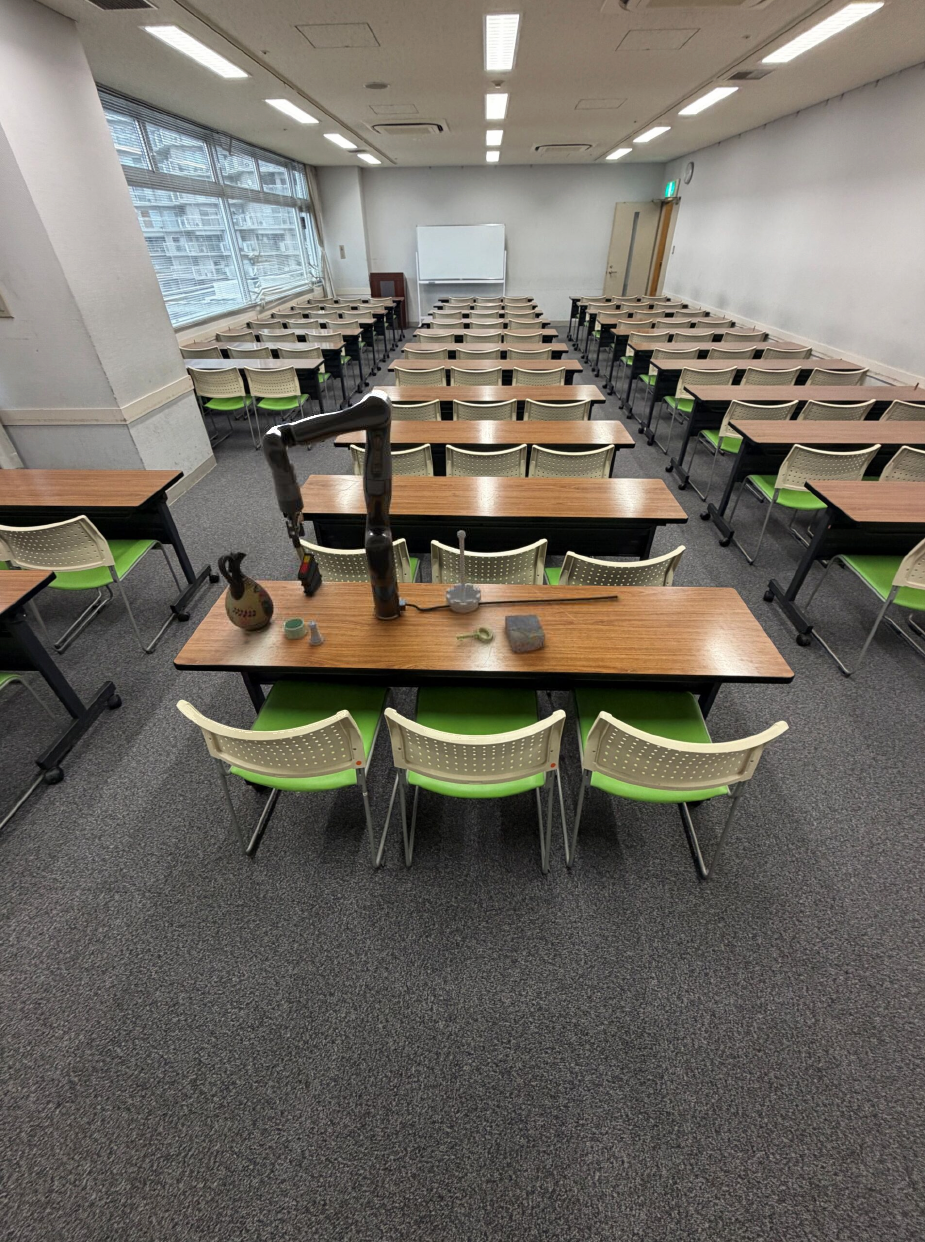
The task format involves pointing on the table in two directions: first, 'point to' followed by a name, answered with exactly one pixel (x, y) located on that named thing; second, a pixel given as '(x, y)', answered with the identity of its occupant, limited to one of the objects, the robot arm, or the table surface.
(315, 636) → the rook chess piece
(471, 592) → the flag stand
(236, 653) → the table surface
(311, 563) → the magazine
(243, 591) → the ceramic jug
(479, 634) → the key
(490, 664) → the table surface
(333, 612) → the table surface
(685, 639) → the table surface
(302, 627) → the cup
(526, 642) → the geological specimen
